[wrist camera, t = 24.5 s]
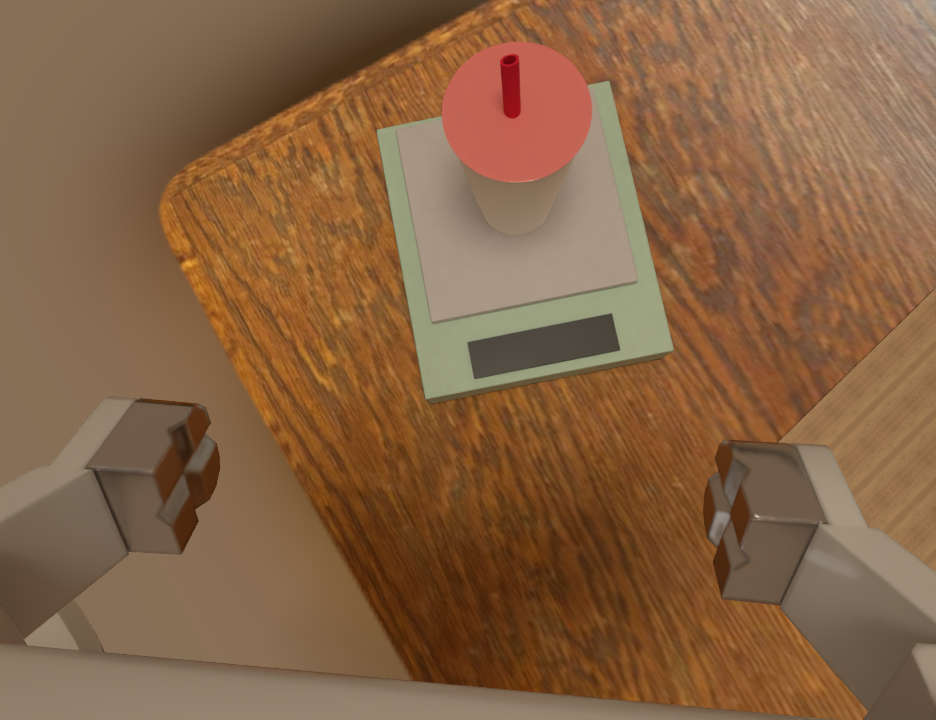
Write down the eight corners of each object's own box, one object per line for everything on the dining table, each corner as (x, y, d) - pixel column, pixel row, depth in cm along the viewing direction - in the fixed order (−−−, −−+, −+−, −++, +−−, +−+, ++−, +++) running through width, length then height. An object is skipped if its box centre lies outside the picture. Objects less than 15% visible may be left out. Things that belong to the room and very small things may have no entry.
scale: (430, 403, 36) (423, 398, 33) (384, 150, 38) (373, 123, 35) (663, 358, 35) (677, 348, 32) (603, 104, 38) (611, 73, 35)
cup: (450, 162, 34) (417, 5, 23) (557, 138, 34) (581, -33, 22) (472, 266, 34) (450, 159, 22) (582, 242, 33) (621, 121, 22)
